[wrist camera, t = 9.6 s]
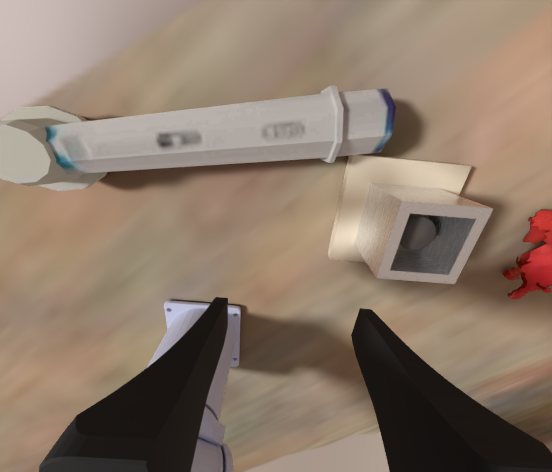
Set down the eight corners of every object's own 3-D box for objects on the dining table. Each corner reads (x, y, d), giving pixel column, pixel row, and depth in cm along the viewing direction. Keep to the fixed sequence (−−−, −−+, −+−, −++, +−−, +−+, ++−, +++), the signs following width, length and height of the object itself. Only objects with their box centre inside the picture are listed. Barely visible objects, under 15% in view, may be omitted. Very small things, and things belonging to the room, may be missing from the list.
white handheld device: (391, 166, 14) (-40, 212, 12) (347, 156, 20) (53, 186, 18) (404, 66, 12) (-118, 103, 10) (351, 88, 18) (16, 114, 16)
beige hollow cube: (414, 249, 20) (454, 284, 15) (354, 244, 20) (376, 278, 15) (438, 188, 18) (493, 208, 13) (370, 182, 17) (402, 200, 13)
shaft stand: (420, 261, 22) (453, 292, 18) (327, 253, 21) (339, 283, 17) (462, 164, 18) (516, 174, 14) (349, 153, 18) (370, 160, 13)
